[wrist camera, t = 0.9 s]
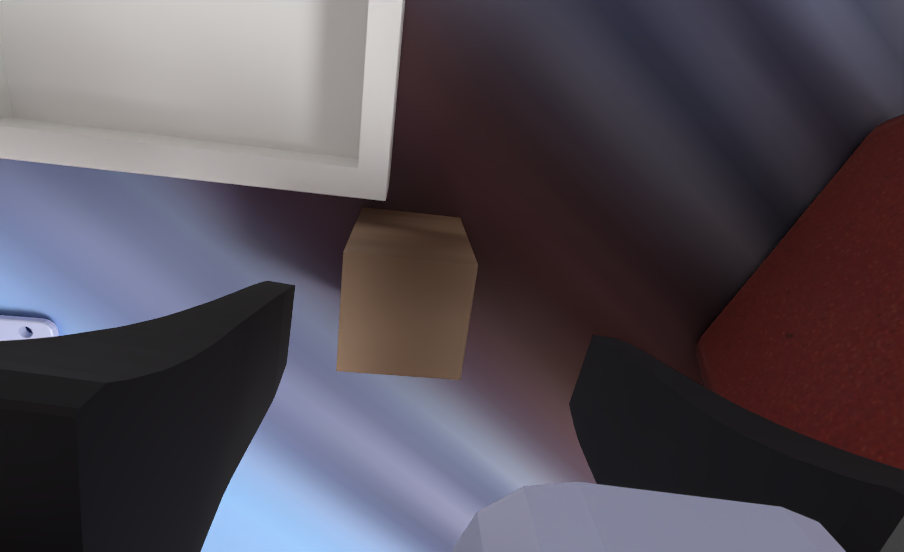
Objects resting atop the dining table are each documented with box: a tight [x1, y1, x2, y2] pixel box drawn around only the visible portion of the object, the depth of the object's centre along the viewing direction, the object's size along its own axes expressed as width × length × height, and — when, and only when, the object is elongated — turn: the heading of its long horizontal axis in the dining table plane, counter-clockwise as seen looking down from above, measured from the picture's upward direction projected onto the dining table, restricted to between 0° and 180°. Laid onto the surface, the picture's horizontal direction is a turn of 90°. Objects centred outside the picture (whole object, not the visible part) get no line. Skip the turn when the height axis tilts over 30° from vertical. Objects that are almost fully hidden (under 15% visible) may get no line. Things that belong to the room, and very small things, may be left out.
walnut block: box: [336, 207, 478, 380], centre depth 18 cm, size 4×4×6 cm
